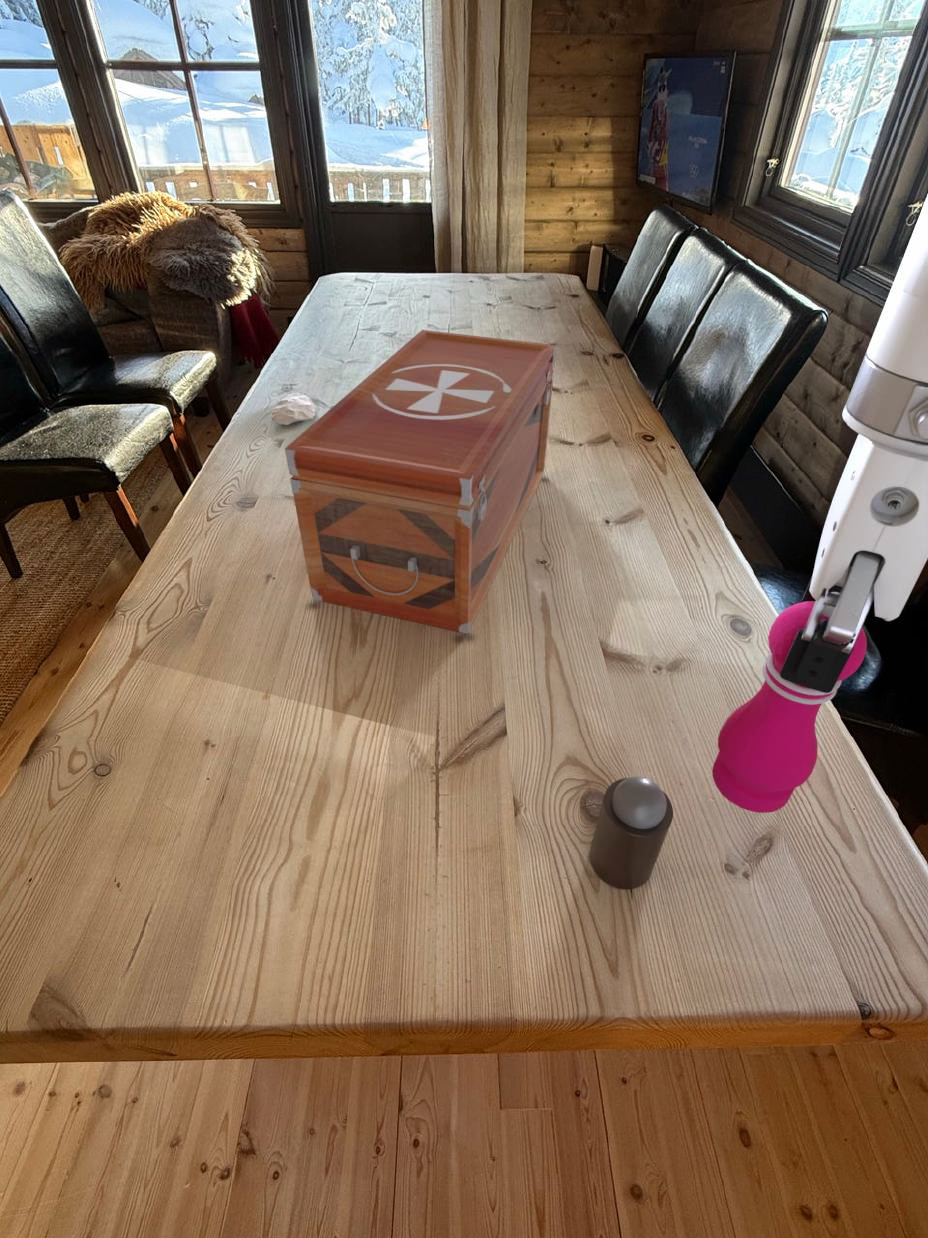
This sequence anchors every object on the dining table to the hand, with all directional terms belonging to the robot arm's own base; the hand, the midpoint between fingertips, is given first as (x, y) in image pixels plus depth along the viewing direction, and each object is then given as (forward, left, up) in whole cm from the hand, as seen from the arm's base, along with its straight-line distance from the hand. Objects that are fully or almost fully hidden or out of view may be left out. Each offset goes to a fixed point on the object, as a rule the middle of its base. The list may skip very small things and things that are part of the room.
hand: (811, 651), depth 46 cm
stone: (+89, -46, -20) cm, 102 cm away
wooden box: (+46, -26, -20) cm, 56 cm away
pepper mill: (0, 0, -15) cm, 15 cm away
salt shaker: (+7, +10, -20) cm, 23 cm away
